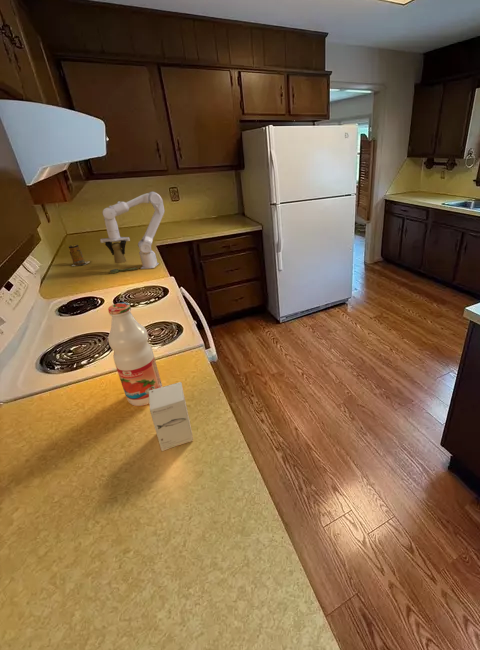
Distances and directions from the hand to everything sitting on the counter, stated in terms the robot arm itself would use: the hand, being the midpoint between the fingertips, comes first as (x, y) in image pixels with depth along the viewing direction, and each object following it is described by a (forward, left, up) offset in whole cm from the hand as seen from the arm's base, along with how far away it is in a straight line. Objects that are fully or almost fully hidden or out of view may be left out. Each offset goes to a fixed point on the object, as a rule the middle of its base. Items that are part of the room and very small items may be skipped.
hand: (118, 254), depth 188 cm
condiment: (-19, -35, -11) cm, 41 cm away
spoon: (-1, 0, -10) cm, 10 cm away
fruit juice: (+111, +57, -11) cm, 125 cm away
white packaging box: (+126, +70, -11) cm, 145 cm away
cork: (0, 0, -5) cm, 5 cm away
